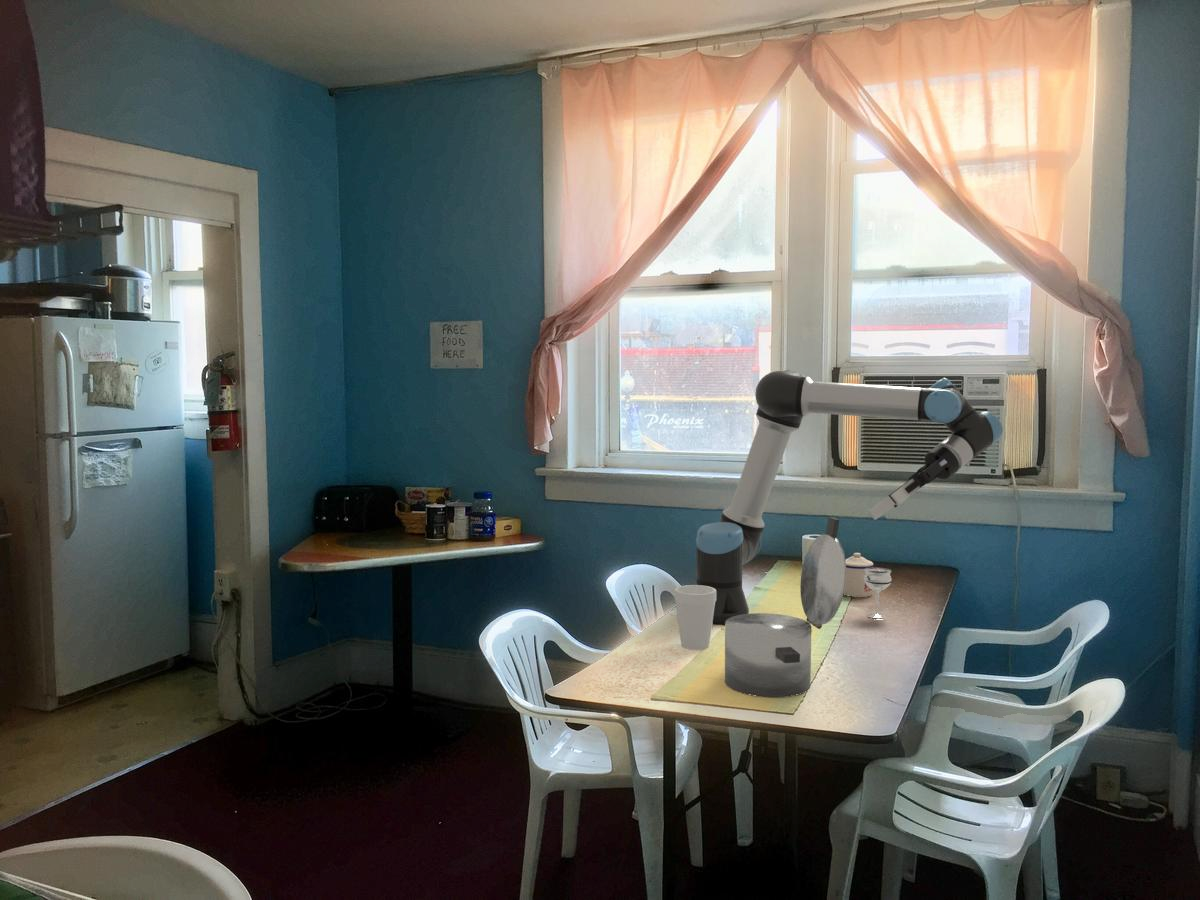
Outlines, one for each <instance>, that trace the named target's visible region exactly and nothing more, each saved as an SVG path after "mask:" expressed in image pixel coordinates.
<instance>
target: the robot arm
mask: <svg viewBox="0 0 1200 900" xmlns="http://www.w3.org/2000/svg"><path fill="white" fill-rule="evenodd" d="M754 396H755V401H756V404H757V406H758V407H757V410H756V413H755V416H756V419H757V420H758V425H757V428H756V431H755V435H754V437H753V440H752V443H751V446H750V449H749V452H748V454H747V458H746V460H745V464H744V466H743V468H742V469H743V470H742V471H741V474H740V475H741V476H740V478H739V480H738V483H737V487H736V490H735V493H734V495H733V498H732V501H731V504H730V506H729V507H727V508H725V509H723V510H722V512H721V515H720V518H719V521H717V522H711V523H706V524H704V525H703V524H702V526H700V527H699V528H698V529H697V532H696V538H695V546H696V547H695V548H696V550H695V551H696V556H695V557H696V558H695V561H696V562H695V563H696V565H695V566H696V567H695V568H696V570H695V571H696V580H695V581H696V582H695V583H696V584H695V585H702V586H709V587H712V588H715V589H716V601H715V608H714V615H713V622H712V625H713V624H716V625H725V622H726V620H727V619H729V618H731V617H733V616H737V615H742V614H750V613H749V611H750V609H749V605H748V602H747V599H746V595H745V593H744V588H743V566H744V565H746V564H747V563H750V562H751V561H753V560H754V558H756V556H757V555H758V553H759V552H760V549H761V547H762V534H763V531H764V528H765V525H766V524H765V521H764V520H763V518H762V516H763V514H764V511H765V508H766V505H767V503H768V499H769V497H770V494H771V490H772V488H773V486H774V482H775V479H776V476H777V474H778V471H779V468H780V465H781V463H782V460H783V456H784V454H785V452H786V449H787V446H788V443H789V440H790V437H791V434H792V433H794V432H795V431H798V430H799V429H800V426H801V424H802V420H803V418H804V417H807V416H808V415H810V414H823V415H837V416H838V415H839V416H840V415H842V416H851V417H853V416H854V417H855V416H856V417H867V418H868V417H870V418H883V419H895V420H908V421H909V420H911V421H913V420H914V421H922V422H935V423H938V424H944V426H945V427H946V428H947V429H948V430H949V432H951V433H952V434H951V435H948V436H947V437H946V438H945V439H944V440H942V441H941V442H940V443H938V444H937V445H936V446H934V447H933V448H932V449H931V450H929V451H928V452H927V453H926V454H925V456H924V463H925V464H924V465H923V466H921V467H920V468H918V469H917V470H916V472H915V473H913V474H912V475H910V477H909V478H908V481H906V482H905V483H903V484H902V485H901V486H899V487H898V488H897V489H895V490H894V491H893V492H891V493H890V494H888V495H886V496H885V497H884V498H883V499H881V500H880V501H879V502H878V503H876V504H875V505H874V506H873V507H871V508H869V509H868V510H867V513H868V514H869V515H870V516H871V518H872V519H873V520H874V521H876V520H877V519H879V518H880V517H882V516H883V515H884V514H885V513H887V512H888V511H889V510H891V509H892V508H893V507H894V508H897V507H898V506H899V505H900V504H902V503H903V502H904V501H905V500H907V499H908V498H910V497H911V496H913V495H914V494H915V493H916V492H918V490H920V489H921V488H923V487H925V485H927V484H930V483H931V482H932V481H934V480H936V479H940V480H948V479H950V478H951V477H952V476H954V475H955V474H956V473H957V472H959V470H961V469H962V468H963V467H967V468H968V467H970V465H971V464H970V462H971V461H973V460H974V459H976V457H978V456H980V454H982V453H983V452H984V451H986V450H987V449H988V448H990V447H991V446H992V445H993V444H994V443H995V442H997V441H998V440H999V439H1000V438H1001V436H1002V435H1003V432H1004V431H1003V430H1004V428H1003V424H1002V423H1001V421H1000V418H998V417H997V416H996V415H993V414H992V413H991V412H989V411H981V412H978V411H977V410H976V409H975V408H974V407H973V405H971V403H970V402H969V401H968V400H967V398H965V396H964V395H963V394H962V393H961V392H960V390H958V388H957V387H956V385H955V384H953V383H952V382H951V380H949V379H948V378H946V377H943V378H941V379H939V380H938V381H936V382H935V383H934V384H932V385H931V386H930V387H925V388H924V387H911V386H909V387H908V386H897V385H895V386H894V385H879V384H878V385H877V384H861V383H845V382H844V383H843V382H827V381H824V382H823V381H814V380H812V379H811V377H809V376H805V375H804V374H802V373H799V372H798V371H795V370H790V369H789V370H776V371H775V370H774V371H772V372H769V373H767V374H765V375H764V376H763V377H762V378H760V380H759V381H758V383H757V385H756V388H755V395H754Z"/></svg>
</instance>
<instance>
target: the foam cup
mask: <svg viewBox="0 0 1200 900" xmlns="http://www.w3.org/2000/svg"><path fill="white" fill-rule="evenodd" d="M674 601H675V606H676V613H677V622H678V629H679V631H678V632H679V638H680V645H681V647H682V648H684V649H686V650H695V651H697V650H698V651H700V650H706V649H708V648H709V647H710V643H711V641H710V640H711V636H712V635H711V634H712V629H713V623H712V622H713V615H714V608H715V601H716V589H715V588H712V587H709V586H702V585H696V584H690V585H689V584H688V585H687V584H686V585H681V586H680V585H679V586H677V587H675V588H674Z"/></svg>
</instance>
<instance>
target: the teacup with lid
mask: <svg viewBox="0 0 1200 900" xmlns="http://www.w3.org/2000/svg"><path fill="white" fill-rule="evenodd" d="M861 555H862V554H861V553H860V552H854V553H853V555H852V556H850V557H848V558H845V561H846V582H845V589H844V594H845V595H849V596H852V597H851V598H868V596H869V597H871V596H872V595H873V589H871V588H869V587H868V586H867V585H866V584H865V581H864V575H865V573H866V572H865V570H864V569H866V568H874V566H875V565H874V562H872V561H871V560H868V559H866V558H865V557H864V556H861ZM845 595H844V596H845ZM849 596H848V597H849Z"/></svg>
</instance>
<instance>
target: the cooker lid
mask: <svg viewBox="0 0 1200 900" xmlns="http://www.w3.org/2000/svg"><path fill="white" fill-rule="evenodd" d="M839 526H840V519H837V518H835V517H831V516H828V519H827V524H826V529H825V534H821V535H818V536H817V537H816V538H815V539H813V541H812V543H811V544H810V545H809V547H808V550H807V552H806V554H805V557H804V561H803V564H802V570H801V575H800V600H801V605H802V610H803V613H804V615H805V616H806V620H805V621H807V622H808V623H810V624H811V626H813V627H815V628H816V629H819V630H820V629H822V627H823V625H826V624H828V623H829V622H830V621H832V620H833V619H834V617H836V614H837V613H838V611H839V608H840V606H841V603H842V601H843V597H844V595H843V594H844V589H845V582H846V561H845V559H846V555H845V551H844V549H843V546H842V544H841V542H840V541H839V539H838V537H837V536H838V531H839Z"/></svg>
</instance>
